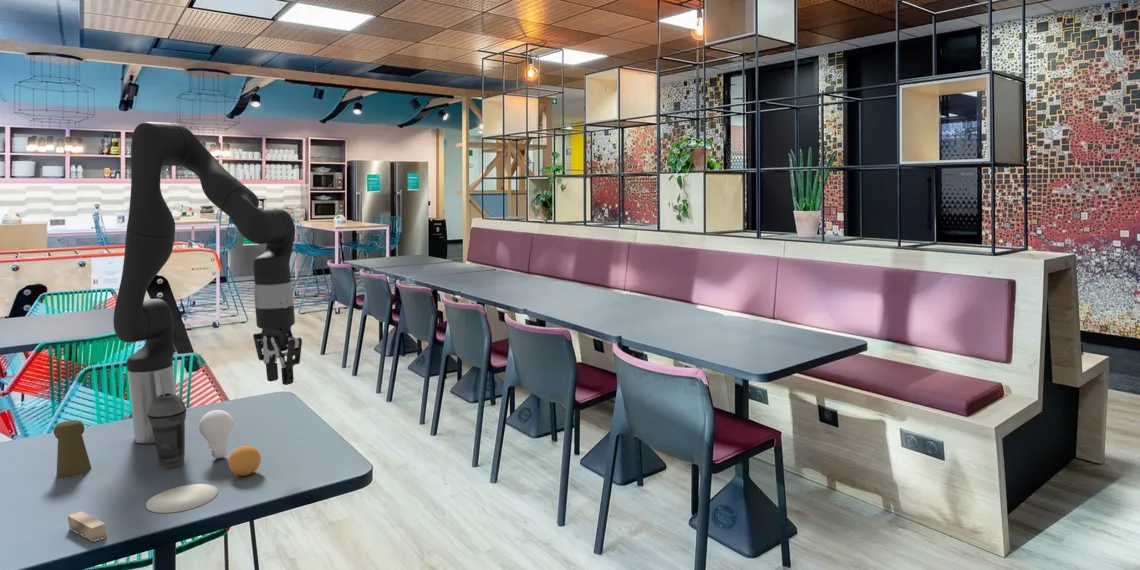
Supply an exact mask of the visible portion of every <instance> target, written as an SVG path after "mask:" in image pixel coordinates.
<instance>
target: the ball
mask: <svg viewBox="0 0 1140 570" xmlns="http://www.w3.org/2000/svg"><path fill="white" fill-rule="evenodd" d="M260 464H261V454H260V452H259V451H258V449H257V448H255V447H254V446H252V445H242V446H239V447H237V448H235V449H233V450H232V452H231V454H230V455H229V457H228V466H229V469H230V470H231V472H232V473H234V475H237V476H241V477H243V476H244V477H245V476H249V475H251V474H253V473H254V472H255V471H256V470H258V468H259V467H260Z"/></svg>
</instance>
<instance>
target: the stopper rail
mask: <svg viewBox="0 0 1140 570" xmlns="http://www.w3.org/2000/svg"><path fill="white" fill-rule="evenodd" d="M67 519H68V520H67V521H68V529H69V528H70V529H72V530H74V531H76V532H78V533H79V534H82V535H83V536H85V537H87V538H89V539H91V540H93V541H95V540H97V539H101V538H104V537H107V538H108V536H107V526H106V523H105V522H103V521H101V520H99V519H97V518H95V517H93V516H91V515H90V514H87V513H86V512H84V511H81V510H80V511H76V512H74V513H71V514H68V515H67ZM70 529H69V530H70ZM72 530H71V531H72ZM74 531H73V532H74ZM76 532H75V533H76ZM79 534H78V535H79ZM83 536H82V537H83ZM85 537H84V538H85ZM104 539H105V538H104Z"/></svg>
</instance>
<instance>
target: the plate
mask: <svg viewBox="0 0 1140 570" xmlns="http://www.w3.org/2000/svg"><path fill="white" fill-rule="evenodd" d="M218 492H219V491H218V488H217V487H216V486H214V485H211V484H207V483H206V484H205V483H196V484H194V483H193V484H187V485H181V486H176V487H173V488H170V489H167V490H164V491H162V492H159V493H156V495H154V496H152V497H151V498H149V499H148V500H147V501H146V503H145V507H146V509H147V510H148V511H149V512H152V513H158V514H168V513H169V514H171V513H179V512H184V511H189V510H192V509H194V508H198V507H200V506H203V505H205V504H207V503H209V502H211V501H212V500H213V499H214V498H216V497H217V495H218Z"/></svg>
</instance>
